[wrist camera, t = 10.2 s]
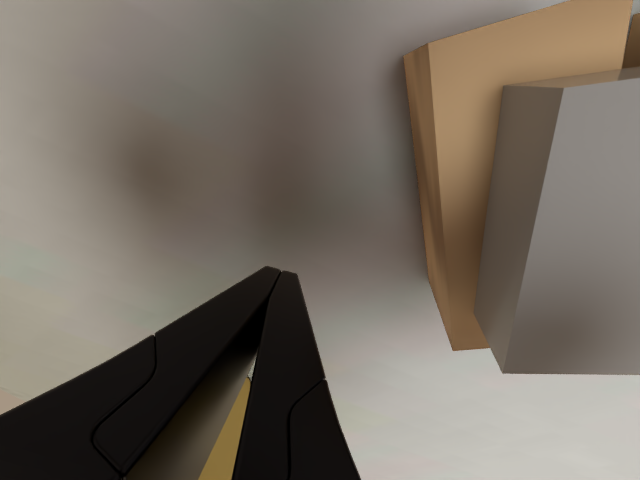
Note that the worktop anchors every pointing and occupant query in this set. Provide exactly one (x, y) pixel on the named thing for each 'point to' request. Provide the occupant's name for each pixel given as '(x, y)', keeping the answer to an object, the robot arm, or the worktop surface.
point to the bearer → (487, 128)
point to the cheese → (227, 441)
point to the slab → (564, 228)
